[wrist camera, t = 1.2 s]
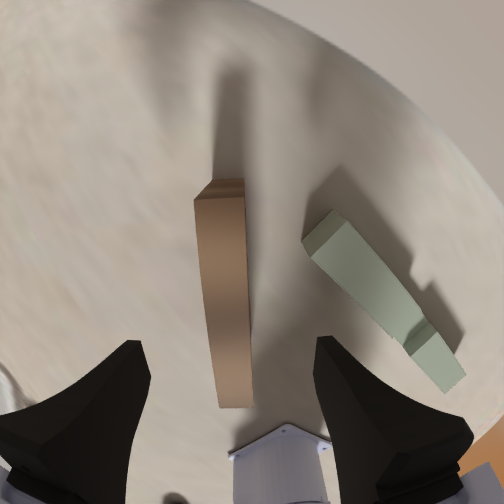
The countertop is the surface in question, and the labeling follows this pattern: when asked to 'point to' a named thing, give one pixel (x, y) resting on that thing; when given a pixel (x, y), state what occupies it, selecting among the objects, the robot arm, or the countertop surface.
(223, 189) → the walnut plate
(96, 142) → the countertop surface
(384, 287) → the slotted rail
